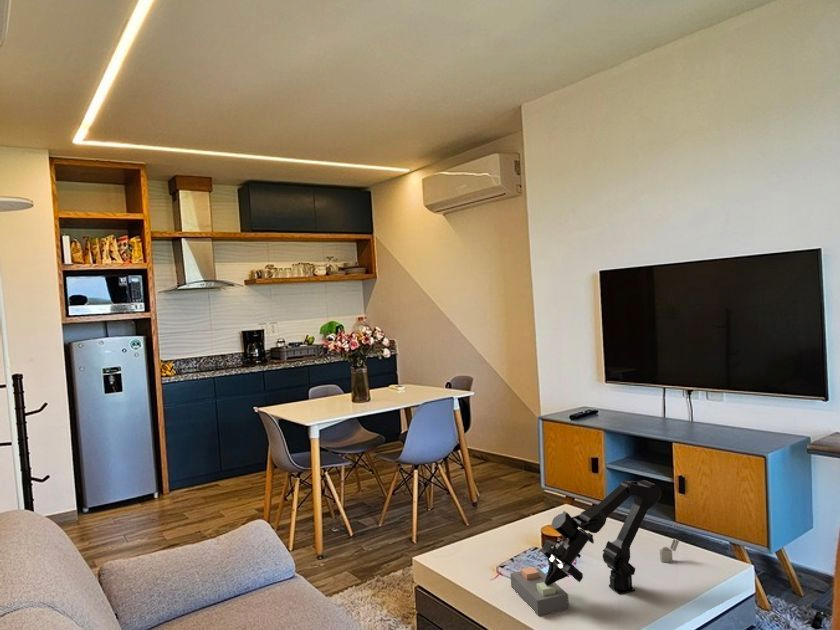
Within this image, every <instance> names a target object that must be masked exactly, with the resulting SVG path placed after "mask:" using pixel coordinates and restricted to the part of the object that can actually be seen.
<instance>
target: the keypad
mask: <svg viewBox="0 0 840 630" xmlns="http://www.w3.org/2000/svg"><path fill="white" fill-rule="evenodd" d="M535 569H536V570H537V571H538V572H539V578H538V579H533V580H527V581H526V580H525V579H524V578H523V577H522V576H521V570H520V571H516V572H511V573H510V574H509V575H510V588H511V587H512V588H513V589H514V590H515V591H514V590H513V589H512V588H511V589H512V590H513V591H514V592H515V593H516V594H517V593H518V594H517V595H518V596H519V597H520V599H522V600H523V601H524V602H526V603H527V604H528V605H529V606H530V607H531V608H532V609H533V610H534V611H535V612H534V611H533V610H532V609H531V608H530V607H529V606H528V605H527V604H526V603H525V604H526V605H527V606H528V607H529V608H530V609H531V610H532V611H533V612H534V613H535V614H536V616H538V617H540V616H539V615H541V616H545V615H544V614H546V615H549V613H550V614H555V613H558V612H564V611H567V610H570V607H569V606H570V605H569V594H568V592H566V590H564V589H563V588H562V587H561V586H559V584H557V582H554V583H552V584H553V585H554V586H555V587H556V594H552V595H547V596H542V595H541V594H540V593H539V592H538V591H537V585H536V584H537V583H542V582H545V580H546V576H547V573H545V572H544V571H543V570H542V569H540V567H537V568H535Z"/></svg>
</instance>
